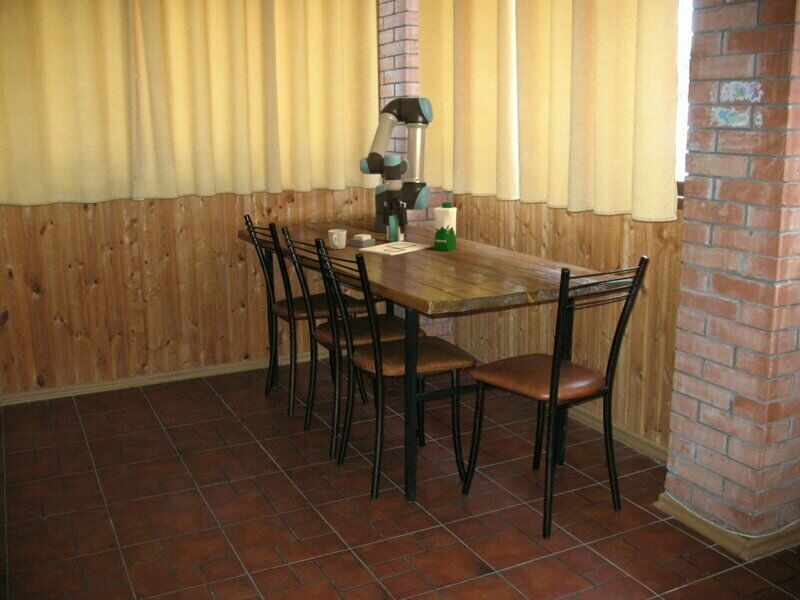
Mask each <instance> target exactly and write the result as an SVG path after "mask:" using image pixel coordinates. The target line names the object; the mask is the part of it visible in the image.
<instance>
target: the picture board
mask: <svg viewBox="0 0 800 600" xmlns="http://www.w3.org/2000/svg"><path fill="white" fill-rule="evenodd" d="M430 248H432V244H431V245H429V244H422V243H415V242H406V241H398V242H393V243H391V242H389V243H384V244H377V245H374V246H369V247H363V248H362V247H360V248H359V249H358V252H364V253H372V254H378V255H385V256H397V255H400V254H405V253H411V252H415V251H420V250H425V249H430Z"/></svg>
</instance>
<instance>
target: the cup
mask: <svg viewBox="0 0 800 600" xmlns="http://www.w3.org/2000/svg"><path fill="white" fill-rule="evenodd" d="M327 235H328V242H329V243H328V244H329V248H330V249H332V250H336V249H338V250H343V249H345V248H346V245H347V244H346V241H347V230H346V229H342V228H341V229H329V230H328V231H327Z"/></svg>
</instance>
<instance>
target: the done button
mask: <svg viewBox="0 0 800 600" xmlns="http://www.w3.org/2000/svg"><path fill="white" fill-rule="evenodd" d="M353 238H354V239H356V240H367V239H371V238H372V235H371V234H363V233H361V234H355V235H353Z"/></svg>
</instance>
